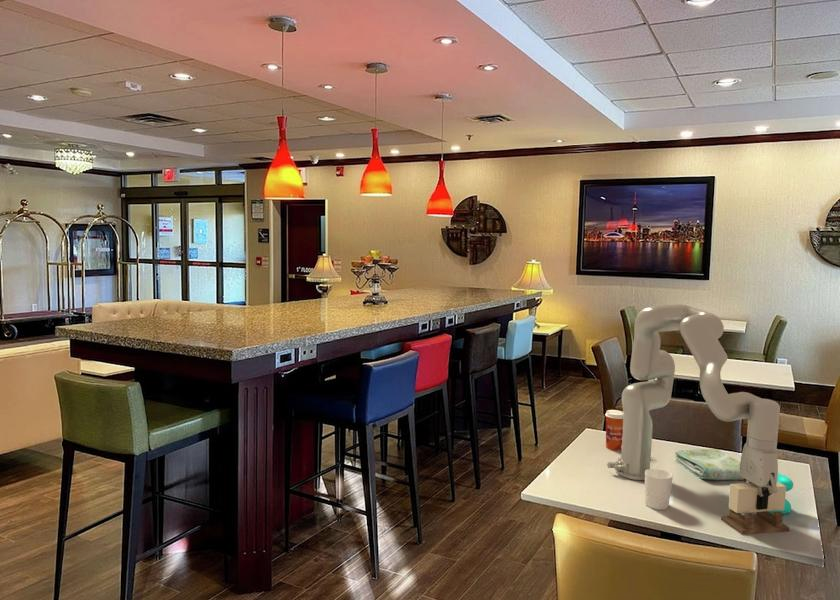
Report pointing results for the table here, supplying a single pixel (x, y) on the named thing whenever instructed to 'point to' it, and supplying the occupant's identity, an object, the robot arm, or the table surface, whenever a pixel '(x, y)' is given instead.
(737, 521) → the rack
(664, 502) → the white cup
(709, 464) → the towel
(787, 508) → the donuts
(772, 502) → the cream rectangular block
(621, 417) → the paper cup
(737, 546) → the table surface
